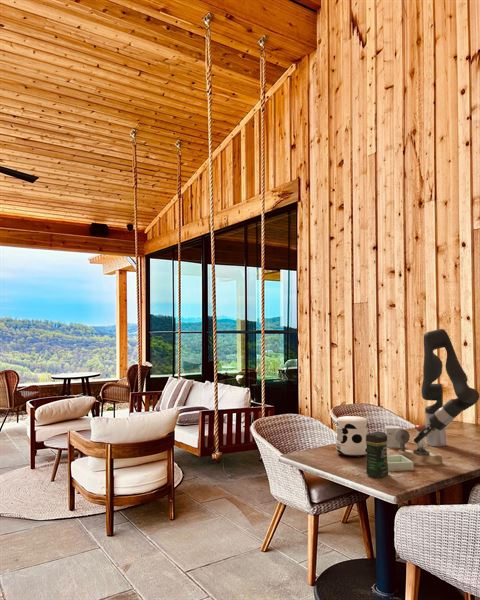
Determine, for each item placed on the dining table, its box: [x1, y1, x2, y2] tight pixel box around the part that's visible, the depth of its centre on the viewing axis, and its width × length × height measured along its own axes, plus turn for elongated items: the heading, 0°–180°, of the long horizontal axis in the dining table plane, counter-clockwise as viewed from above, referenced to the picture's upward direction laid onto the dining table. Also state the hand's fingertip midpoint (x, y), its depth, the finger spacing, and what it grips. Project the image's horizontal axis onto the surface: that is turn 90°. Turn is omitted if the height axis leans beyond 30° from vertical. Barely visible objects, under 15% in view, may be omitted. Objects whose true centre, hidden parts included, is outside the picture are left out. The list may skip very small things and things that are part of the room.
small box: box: [384, 425, 402, 449], centre depth 249 cm, size 8×6×10 cm
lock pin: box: [414, 424, 426, 452], centre depth 219 cm, size 5×5×13 cm
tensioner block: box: [395, 428, 443, 466], centre depth 221 cm, size 18×12×14 cm, turn 96°
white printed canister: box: [335, 415, 369, 458], centre depth 235 cm, size 17×17×18 cm
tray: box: [387, 454, 415, 472], centre depth 213 cm, size 12×12×3 cm
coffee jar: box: [365, 430, 389, 479], centre depth 201 cm, size 10×8×19 cm
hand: (416, 440), depth 220 cm, fingers closed on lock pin, 3 cm apart
